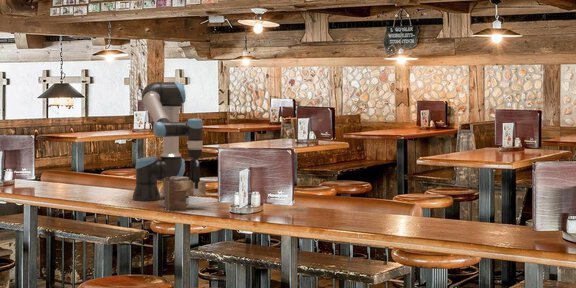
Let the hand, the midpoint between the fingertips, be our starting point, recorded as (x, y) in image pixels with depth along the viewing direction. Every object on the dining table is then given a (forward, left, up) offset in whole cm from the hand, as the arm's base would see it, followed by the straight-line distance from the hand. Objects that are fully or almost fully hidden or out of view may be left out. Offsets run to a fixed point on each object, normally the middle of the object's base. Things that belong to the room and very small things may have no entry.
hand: (194, 194), depth 453 cm
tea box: (-16, -7, -8) cm, 19 cm away
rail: (0, -3, 0) cm, 3 cm away
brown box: (0, -10, -7) cm, 12 cm away
